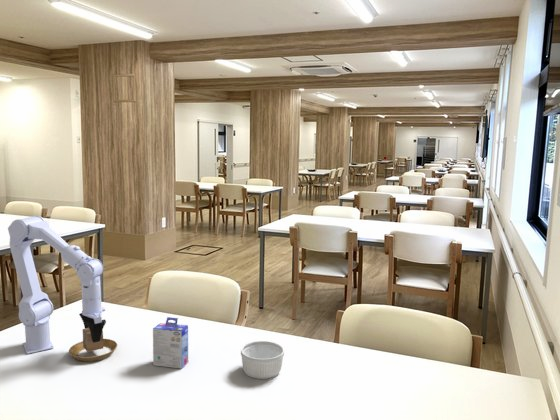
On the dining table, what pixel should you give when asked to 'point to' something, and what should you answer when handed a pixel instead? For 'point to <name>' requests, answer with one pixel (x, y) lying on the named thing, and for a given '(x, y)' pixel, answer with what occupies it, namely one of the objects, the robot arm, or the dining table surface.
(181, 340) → the ink cartridge box
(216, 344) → the dining table surface
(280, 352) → the ramekin
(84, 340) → the walnut block
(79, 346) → the plant saucer
